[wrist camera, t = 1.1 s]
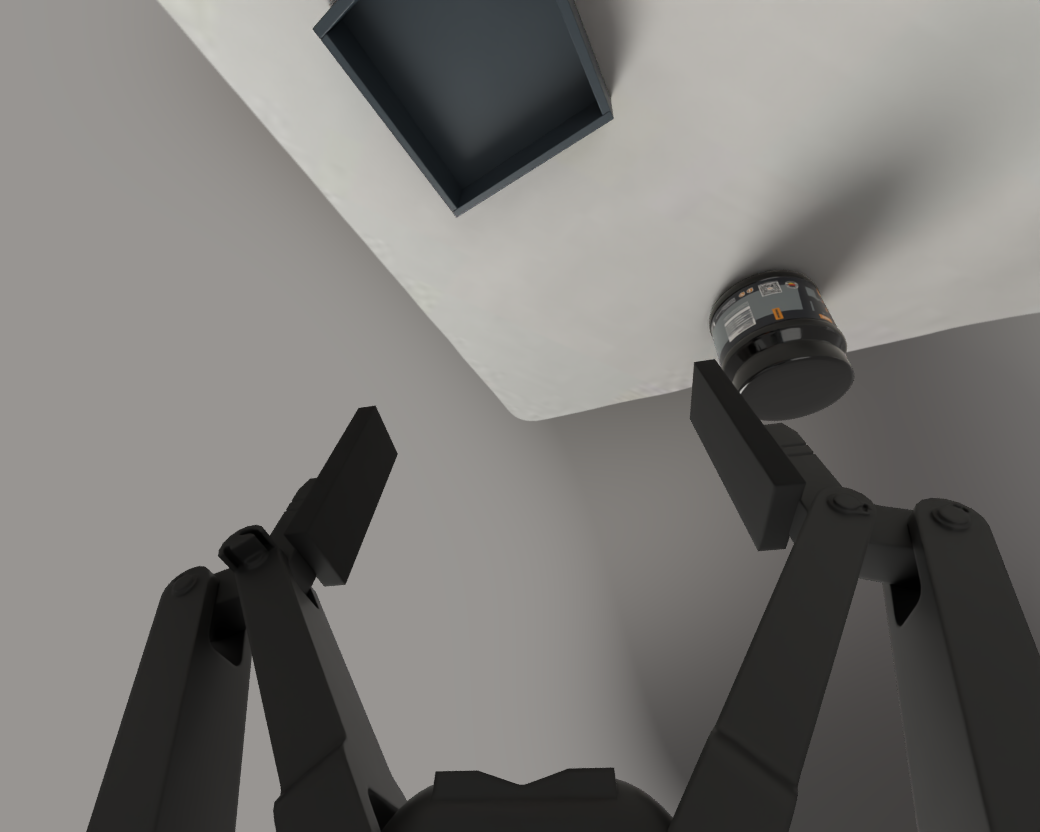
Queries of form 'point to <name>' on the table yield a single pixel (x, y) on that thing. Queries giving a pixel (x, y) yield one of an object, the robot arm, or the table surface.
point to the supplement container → (780, 345)
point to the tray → (472, 84)
